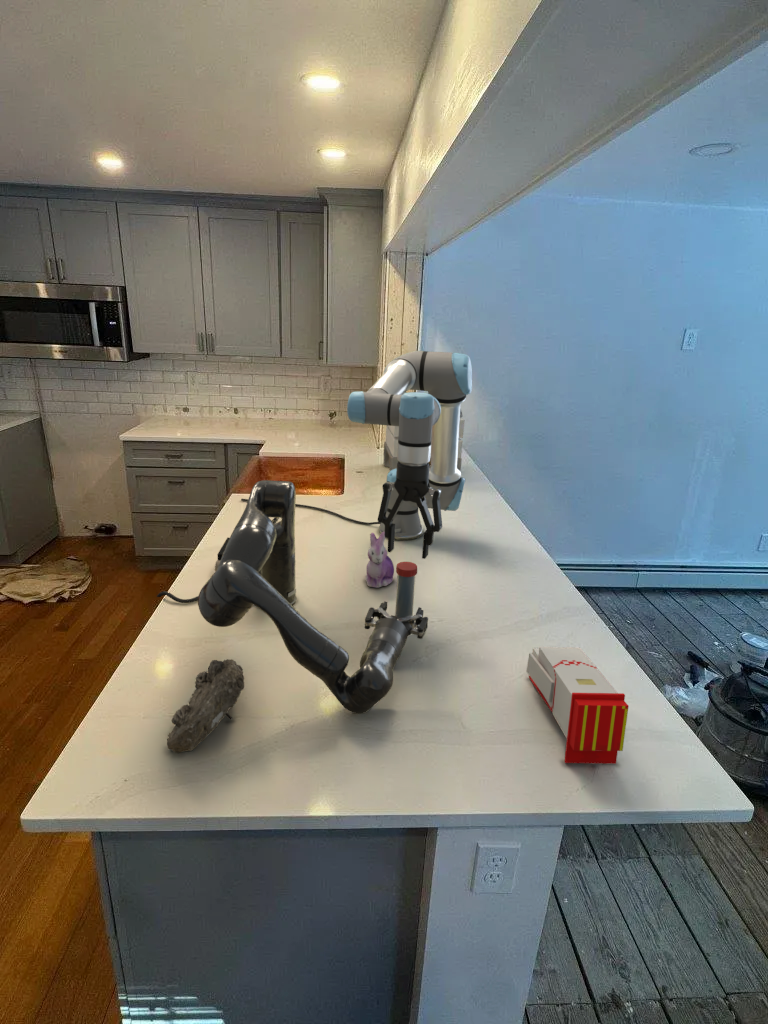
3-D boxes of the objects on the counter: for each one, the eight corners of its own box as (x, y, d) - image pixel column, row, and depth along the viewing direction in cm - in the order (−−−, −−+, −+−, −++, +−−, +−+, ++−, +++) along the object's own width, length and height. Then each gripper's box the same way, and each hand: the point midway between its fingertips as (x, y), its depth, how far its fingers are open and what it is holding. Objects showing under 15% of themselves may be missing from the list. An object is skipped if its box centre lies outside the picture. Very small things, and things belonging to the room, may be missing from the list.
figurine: (372, 591, 158) (374, 542, 153) (357, 576, 166) (358, 529, 161) (402, 585, 162) (404, 537, 157) (385, 571, 171) (387, 524, 166)
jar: (413, 627, 142) (417, 571, 136) (395, 627, 141) (398, 571, 136) (410, 618, 146) (414, 563, 141) (393, 618, 145) (396, 563, 140)
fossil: (192, 660, 117) (244, 628, 112) (224, 691, 120) (276, 661, 115) (142, 746, 98) (202, 712, 93) (182, 779, 101) (242, 748, 96)
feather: (288, 505, 226) (290, 501, 226) (271, 529, 199) (273, 524, 199) (284, 503, 226) (287, 499, 225) (266, 526, 199) (269, 522, 199)
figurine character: (238, 584, 162) (249, 557, 175) (236, 562, 158) (247, 536, 172) (215, 584, 161) (227, 556, 175) (212, 561, 158) (225, 535, 171)
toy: (575, 629, 125) (638, 701, 96) (569, 684, 128) (628, 771, 99) (520, 628, 125) (567, 700, 96) (515, 683, 128) (560, 770, 98)
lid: (418, 577, 137) (419, 570, 136) (397, 577, 136) (397, 570, 136) (415, 567, 141) (416, 561, 141) (394, 567, 141) (395, 561, 140)
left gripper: (354, 651, 127) (374, 616, 141) (417, 663, 124) (430, 626, 138) (356, 622, 124) (375, 589, 139) (419, 633, 121) (432, 599, 136)
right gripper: (461, 464, 130) (453, 554, 137) (376, 453, 136) (372, 540, 144) (454, 472, 123) (446, 567, 131) (364, 460, 129) (361, 551, 137)
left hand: (403, 607), depth 139 cm, fingers open, 8 cm apart
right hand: (407, 553), depth 137 cm, fingers open, 8 cm apart
